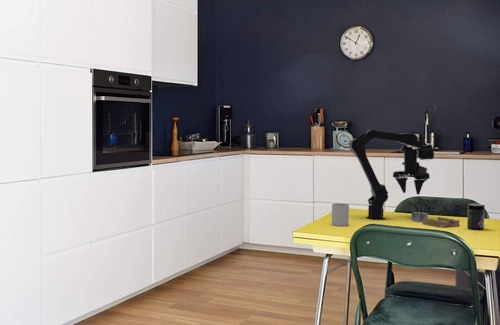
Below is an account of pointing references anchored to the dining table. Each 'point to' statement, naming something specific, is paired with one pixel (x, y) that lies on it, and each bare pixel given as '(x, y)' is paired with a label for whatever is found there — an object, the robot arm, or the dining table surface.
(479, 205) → the supplement container
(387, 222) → the dining table surface
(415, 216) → the socket
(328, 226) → the dining table surface
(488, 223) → the dining table surface
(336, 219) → the cup
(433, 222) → the dock
